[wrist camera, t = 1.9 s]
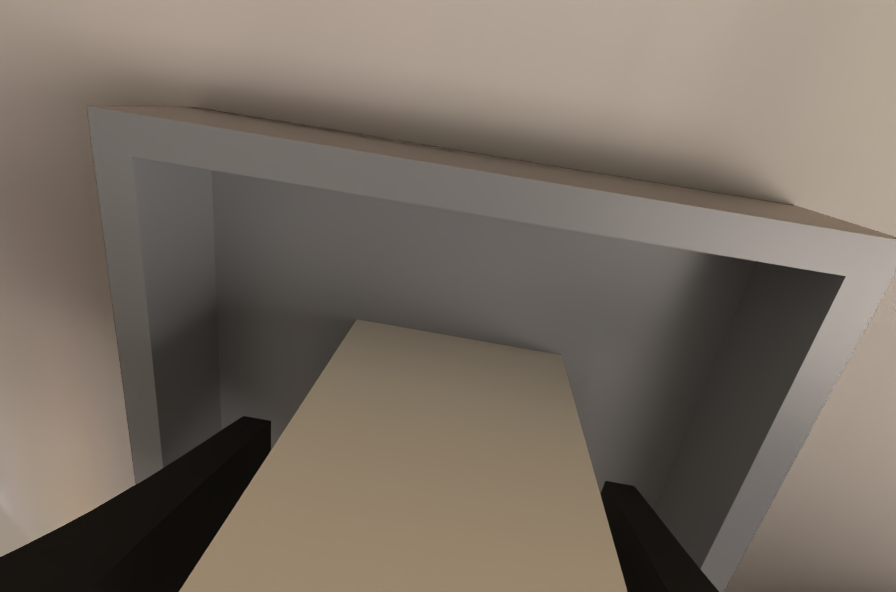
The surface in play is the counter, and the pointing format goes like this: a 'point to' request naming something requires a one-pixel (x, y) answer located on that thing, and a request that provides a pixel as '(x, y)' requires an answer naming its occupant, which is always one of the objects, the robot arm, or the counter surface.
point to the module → (422, 479)
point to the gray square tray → (479, 296)
